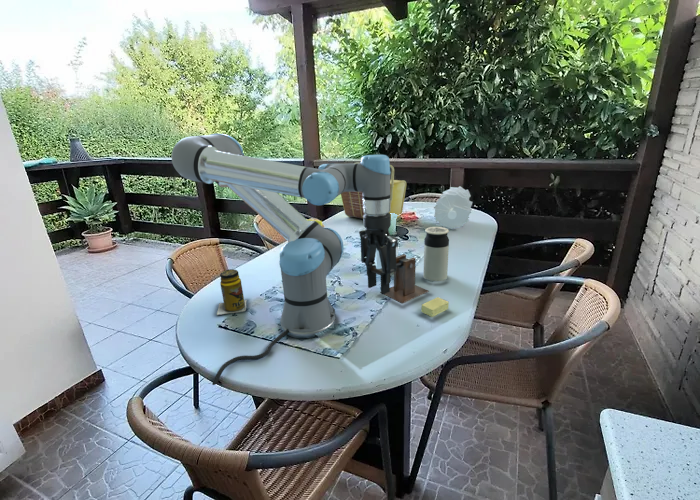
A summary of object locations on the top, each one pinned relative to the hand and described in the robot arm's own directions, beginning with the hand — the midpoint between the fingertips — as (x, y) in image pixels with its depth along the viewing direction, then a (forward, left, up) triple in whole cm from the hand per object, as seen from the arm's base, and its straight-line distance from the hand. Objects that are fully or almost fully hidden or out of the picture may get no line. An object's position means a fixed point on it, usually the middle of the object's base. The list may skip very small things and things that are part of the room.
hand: (378, 289), depth 108 cm
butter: (+9, -14, -6) cm, 18 cm away
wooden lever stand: (+11, 0, -6) cm, 12 cm away
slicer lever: (+6, 0, +4) cm, 7 cm away
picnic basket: (+67, +79, -6) cm, 104 cm away
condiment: (-34, +30, -6) cm, 46 cm away
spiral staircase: (+86, +39, -6) cm, 94 cm away
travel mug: (+27, +1, -6) cm, 27 cm away
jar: (+21, +19, -6) cm, 29 cm away
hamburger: (+17, +63, -6) cm, 65 cm away
